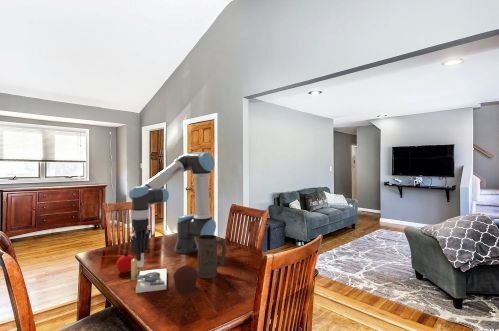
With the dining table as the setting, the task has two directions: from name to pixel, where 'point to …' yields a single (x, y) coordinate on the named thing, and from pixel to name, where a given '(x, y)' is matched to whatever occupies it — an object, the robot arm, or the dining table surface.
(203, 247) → the beer stein
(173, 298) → the dining table surface
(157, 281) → the stand
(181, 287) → the muffin
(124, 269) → the ornament
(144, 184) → the robot arm
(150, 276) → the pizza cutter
